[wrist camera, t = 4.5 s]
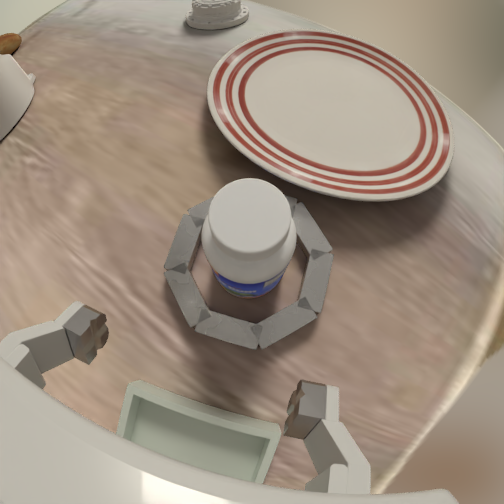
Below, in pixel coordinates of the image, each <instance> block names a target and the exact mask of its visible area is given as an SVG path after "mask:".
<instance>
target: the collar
mask: <svg viewBox="0 0 504 504" xmlns="http://www.w3.org/2000/svg"><path fill="white" fill-rule="evenodd" d="M284 196H285V197H286V199H287V201H288V203H289V205H290V209H291V217H292V219H293V221H294V224H295V228H296V235H297V239H296V241H297V243H298V244H299V246H300V247H301V249H302V251H303V252H304V254H305V256H306V257H307V263H306V267H305V271H304V275H303V279H302V283H301V287H300V291H299V295H298V299H297V302H295V303H293V304H291V305H290V306H288V307H286V308H284V309H283V310H281V311H279V312H277V313H275V314H274V315H272V316H270V317H268V318H267V319H265V320H263V321H261V322H259V323H257V324H254V323H250V322H247V321H244V320H240V319H237V318H233V317H230V316H227V315H223V314H220V313H217V312H214V311H210V309H209V307H208V305H207V303H206V302H205V300H204V298H203V296H202V294H201V292H200V290H199V288H198V286H197V284H196V282H195V280H194V278H193V276H192V274H191V272H190V271H191V268H192V265H193V262H194V259H195V256H196V254H197V251H198V248H199V245H200V242H201V234H202V227H203V223H204V221H205V218H206V216H207V215H208V211H209V207H210V204H211V201H212V200H213V198H214V197H212V198H210V199H208V200H206V201H204V202H202V203H200V204H198V205H196V206H194V207H192V208H190V209H188V213H189V215H187V214H184V215H183V217H182V220H181V222H180V225H179V227H178V230H177V232H176V235H175V238H174V240H173V243H172V246H171V248H170V251H169V254H168V257H167V259H166V262H165V265H164V268H165V269H166V270H167V271H166V272H164V275H165V277H166V279H167V281H168V283H169V285H170V288H171V290H172V292H173V294H174V296H175V298H176V300H177V302H178V304H179V306H180V308H181V310H182V312H183V314H184V317H185V318H186V320H187V322H188V324H189V326H190V328H195V327H196V328H195V332H198V333H201V334H204V335H207V336H211V337H214V338H217V339H220V340H223V341H227V342H230V343H233V344H237V345H240V346H244V347H247V348H251V349H254V350H256V349H257V346H258V344H259V345H260V347H261V349H264V348H266V347H267V346H269V345H271V344H273V343H275V342H276V341H278V340H280V339H282V338H284V337H285V336H287V335H289V334H291V333H292V332H294V331H296V330H297V329H299V328H301V327H302V326H304V325H306V324H308V323H309V322H311V321H312V320H314V319H316V318H317V316H316V314H319V313H321V310H322V306H323V302H324V297H325V293H326V289H327V284H328V280H329V275H330V271H331V266H332V261H333V256H334V255H333V254H330V252H331V251H332V250H333V249H332V247H331V246H330V244H329V242H328V241H327V239H326V238H325V236H324V235H323V233H322V231H321V230H320V228H319V227H318V225H317V224H316V222H315V221H314V219H313V218H312V216H311V215H310V213H309V212H308V210H307V209H306V207H305V206H304V204H303V203H302V202H300V203H298V204H296V203H297V198H293V197H290V196H286V195H284Z"/></svg>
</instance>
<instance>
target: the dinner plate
mask: <svg viewBox="0 0 504 504" xmlns="http://www.w3.org/2000/svg"><path fill="white" fill-rule="evenodd" d="M207 101H208V106H209V110H210V112H211V115H212V117H213V120H214V122H215V123H216V125H217V126H218V128H219V129H220V131H221V132H222V134H223V135H224V136H225V137H226V139H227V140H228V141H229V142H230V143H231V144H232V145H233V146H234V147H235V148H236V149H237V150H238V151H240V152H241V153H242V154H243V155H245V156H246V157H247V158H248V159H250V160H251V161H252V162H254V163H255V164H257V165H258V166H260V167H262V168H263V169H265V170H266V171H268V172H270V173H272V174H273V175H275V176H277V177H279V178H281V179H283V180H286V181H288V182H290V183H292V184H295V185H297V186H300V187H303V188H305V189H308V190H311V191H314V192H317V193H321V194H324V195H328V196H333V197H337V198H343V199H349V200H358V201H379V202H380V201H393V200H400V199H404V198H408V197H412V196H415V195H418V194H420V193H422V192H424V191H426V190H428V189H430V188H432V187H433V186H434V185H436V184H437V183H438V182H439V181H440V180H441V179H442V178H443V177H444V175H445V174H446V173H447V171H448V169H449V167H450V164H451V162H452V159H453V154H454V133H453V128H452V124H451V121H450V118H449V115H448V113H447V111H446V109H445V107H444V105H443V103H442V102H441V100H440V98H439V97H438V95H437V94H436V93H435V91H434V90H433V89H432V87H431V86H430V85H429V84H428V83H427V82H426V81H425V80H424V79H423V78H422V77H421V76H420V75H419V74H418V73H417V72H416V71H415V70H414V69H412V68H411V67H410V66H409V65H407V64H406V63H405V62H403V61H402V60H400V59H399V58H397V57H396V56H394V55H393V54H391V53H389V52H387V51H386V50H383V49H382V48H380V47H378V46H376V45H374V44H371V43H369V42H366V41H364V40H361V39H358V38H355V37H352V36H348V35H345V34H341V33H336V32H331V31H325V30H316V29H289V30H280V31H274V32H269V33H265V34H262V35H259V36H256V37H253V38H250V39H248V40H246V41H244V42H242V43H240V44H239V45H237V46H235V47H234V48H232V49H231V50H230V51H228V52H227V53H226V54H225V55H224V56H223V57H222V58H221V59H220V60H219V61H218V63H217V64H216V65H215V67H214V68H213V70H212V72H211V75H210V77H209V80H208V85H207Z"/></svg>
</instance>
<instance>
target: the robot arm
mask: <svg viewBox="0 0 504 504" xmlns="http://www.w3.org/2000/svg"><path fill="white" fill-rule="evenodd" d="M34 80H35V76H34V75H33V74H32V73H31V74H28V75H26V73H25V72H24V71H23V70H22V68H21V67H20V66H19V65H18V63H17V62H16V61H15V60H14V58H13V57H12V56H11V55H10V54H5V55H1V54H0V140H2V139H3V138H4V137H5V136H6V134H7V133H8V132H9V131H10V130H11V129H12V128H13V127H14V125H15V124H16V123H17V122H18V120H19V119H20V118H21V116H22V115H23V114H24V112H25V111H26V109H27V107H28V106H29V104H30V102H31V100H32V98H33V95H34V87H33V83H34ZM106 321H107V319H106V315H105V314H103V313H101V312H99V311H97V310H95V309H93V308H91V307H89V306H87V305H85V304H83V303H81V302H79V301H75V302H73V303H72V304H71V305H70V306H69V307H68V308H67V309H66V310H65V311H64V312H63V313H62V314H61V315H60V316H59V317H58V318H57V319H56V320H55V321H54V322H53V321H48V322H45V323H41V324H38V325H35V326H31V327H28V328H24V329H21V330H18V331H14V332H11V333H9V334H8V335H7V336H6V337H5V338H4V339H3V340H2V341H1V342H0V504H459V502H458V501H457V500H456V499H455V498H454V496H453V495H452V494H451V493H450V492H449V491H448V490H446V489H435V490H428V491H419V492H409V493H395V494H370V464H369V463H368V461H367V460H366V458H365V457H364V455H363V454H362V452H361V450H360V449H359V447H358V446H357V444H356V443H355V441H354V440H353V438H352V437H351V435H350V434H349V432H348V430H347V429H346V427H345V426H344V424H343V423H342V422H339V388H338V387H335V386H330V385H325V384H321V383H316V382H311V381H306V380H300V381H299V383H298V384H297V390H295V391H293V393H292V395H291V397H290V400H289V404H288V408H287V413H288V415H289V417H288V418H287V420H286V421H285V427H284V433H283V435H284V436H289V437H293V438H298V439H303V441H304V443H305V446H306V448H307V450H308V452H309V455H310V457H311V459H312V461H313V464H314V466H315V468H316V470H317V472H318V476H316V477H315V478H314V479H312V480H311V481H309V482H308V483H306V486H305V491H304V490H296V489H289V488H282V487H276V486H270V485H265V484H260V483H255V482H250V481H246V480H242V479H238V478H233V477H230V476H226V475H222V474H218V473H215V472H212V471H208V470H205V469H202V468H198V467H195V466H192V465H189V464H186V463H184V462H181V461H178V460H175V459H173V458H170V457H167V456H165V455H162V454H160V453H157V452H155V451H152V450H150V449H148V448H145V447H143V446H141V445H138V444H136V443H134V442H132V441H130V440H128V439H125V438H123V437H121V436H119V435H117V434H115V433H113V432H111V431H109V430H107V429H106V428H104V427H102V426H100V425H98V424H96V423H95V422H93V421H91V420H89V419H87V418H86V417H84V416H82V415H81V414H79V413H77V412H76V411H74V410H72V409H71V408H69V407H68V406H66V405H64V404H63V403H61V402H60V401H58V400H57V399H55V398H54V397H52V396H51V395H49V394H48V393H47V392H45V391H44V390H42V389H43V388H44V386H45V385H46V382H45V380H44V378H43V376H42V373H44V372H46V371H48V370H50V369H52V368H54V367H57V366H59V365H61V364H63V363H65V362H67V361H69V360H71V359H73V358H74V357H75V358H77V359H79V360H80V361H82V362H84V363H86V364H88V365H89V364H90V363H91V362H92V361H93V359H94V358H95V357H96V355H97V350H98V349H100V348H103V346H104V345H105V344H106V342H107V339H108V334H109V331H108V327H107V326H106V324H105V322H106Z"/></svg>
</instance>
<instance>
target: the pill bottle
mask: <svg viewBox="0 0 504 504" xmlns="http://www.w3.org/2000/svg"><path fill="white" fill-rule="evenodd" d="M201 239H202V246H203V250H204V253H205V256H206V258H207V260H208V262H209V264H210V266H211V268H212V270H213V272H214V274H215V276H216V278H217V280H218V282H219V283H220V285H221V286H222V287H223V288H224V289H225V290H226V291H228V292H229V293H231V294H232V295H234V296H237V297H241V298H257V297H260V296H262V295H265V294H266V293H268V292H270V291H271V290H272V289H273V288H274V287H275V286H276V285H277V284H278V283H279V281H280V279H281V278H282V276H283V274H284V272H285V270H286V268H287V266H288V264H289V262H290V260H291V258H292V256H293V253H294V250H295V247H296V239H297V235H296V228H295V224H294V221H293V219H292V217H291V209H290V205H289V203H288V201H287V199H286V197H285V196H284V194H283V193H282V192H281V191H280V190H279V189H278V188H277V187H275V186H274V185H272V184H270V183H269V182H266V181H264V180H260V179H254V178H245V179H239V180H236V181H233V182H231V183H229V184H227V185H225V186H224V187H223V188H221V189H220V190H219V191H218V192H217V194H216V195H215V196H214V198H213V200H212V201H211V204H210V207H209V211H208V215H207V216H206V218H205V221H204V223H203V227H202V234H201Z"/></svg>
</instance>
